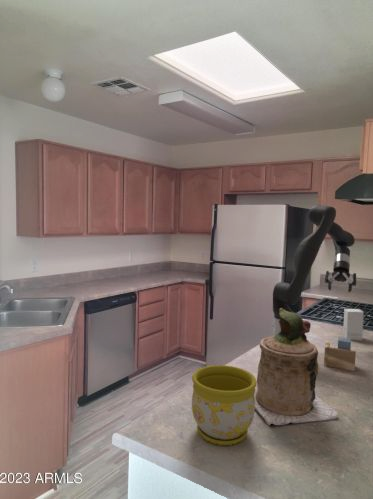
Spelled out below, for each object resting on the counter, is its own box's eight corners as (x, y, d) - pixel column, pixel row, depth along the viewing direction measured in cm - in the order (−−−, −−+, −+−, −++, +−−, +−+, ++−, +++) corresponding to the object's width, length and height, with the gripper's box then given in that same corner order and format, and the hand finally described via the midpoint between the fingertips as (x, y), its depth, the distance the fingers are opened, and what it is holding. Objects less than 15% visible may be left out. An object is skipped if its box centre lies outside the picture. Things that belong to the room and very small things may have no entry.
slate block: (336, 365, 157) (338, 340, 157) (337, 361, 162) (338, 337, 161) (349, 367, 155) (350, 342, 154) (349, 363, 160) (351, 339, 159)
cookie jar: (269, 429, 108) (274, 322, 105) (236, 391, 131) (240, 303, 129) (340, 419, 114) (347, 318, 112) (297, 384, 138) (302, 301, 135)
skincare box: (358, 337, 198) (360, 308, 197) (362, 341, 192) (364, 311, 191) (342, 336, 199) (343, 308, 198) (346, 340, 193) (348, 311, 191)
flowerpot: (177, 431, 105) (179, 375, 104) (218, 409, 118) (220, 360, 116) (226, 462, 92) (229, 399, 91) (266, 434, 105) (269, 378, 103)
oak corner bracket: (325, 357, 167) (326, 340, 166) (354, 362, 162) (355, 344, 162) (323, 365, 157) (324, 347, 156) (354, 371, 152) (355, 352, 151)
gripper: (326, 258, 187) (323, 284, 178) (357, 260, 181) (356, 287, 172) (326, 268, 192) (323, 293, 183) (356, 270, 187) (355, 296, 177)
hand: (339, 290), depth 177 cm, fingers open, 8 cm apart
